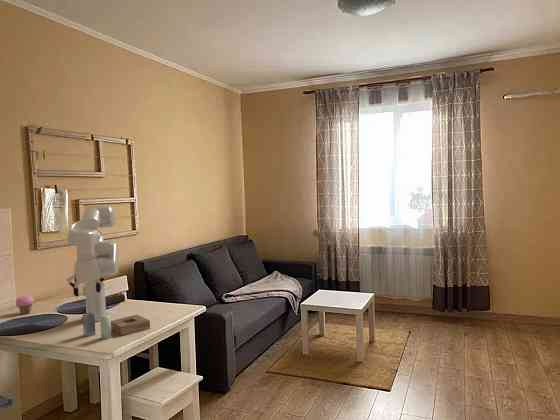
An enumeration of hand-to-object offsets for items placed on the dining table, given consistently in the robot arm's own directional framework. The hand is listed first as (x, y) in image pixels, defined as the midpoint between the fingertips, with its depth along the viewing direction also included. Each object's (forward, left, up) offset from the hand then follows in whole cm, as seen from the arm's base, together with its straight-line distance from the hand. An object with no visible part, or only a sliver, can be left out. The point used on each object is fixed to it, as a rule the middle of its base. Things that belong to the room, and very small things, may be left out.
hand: (87, 294), depth 197 cm
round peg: (+10, +4, -20) cm, 22 cm away
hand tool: (-45, +26, -20) cm, 56 cm away
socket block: (+6, +17, -20) cm, 26 cm away
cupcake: (-65, -12, -20) cm, 69 cm away
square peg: (0, 0, -20) cm, 20 cm away
